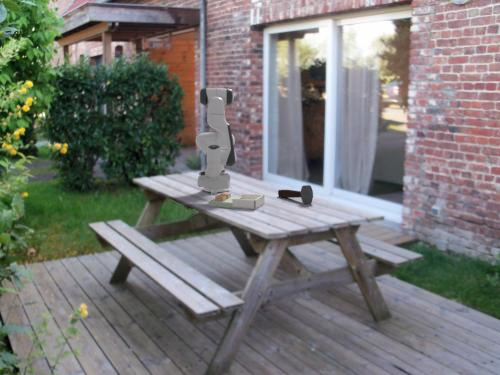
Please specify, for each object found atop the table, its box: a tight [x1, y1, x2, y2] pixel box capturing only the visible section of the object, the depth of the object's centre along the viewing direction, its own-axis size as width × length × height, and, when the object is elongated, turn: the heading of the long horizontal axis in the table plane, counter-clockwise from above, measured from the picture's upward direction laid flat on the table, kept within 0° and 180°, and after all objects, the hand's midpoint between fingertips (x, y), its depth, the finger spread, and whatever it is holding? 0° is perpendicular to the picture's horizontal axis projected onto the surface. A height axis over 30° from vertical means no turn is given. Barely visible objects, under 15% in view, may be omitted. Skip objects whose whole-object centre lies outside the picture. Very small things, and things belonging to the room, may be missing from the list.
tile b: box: [214, 194, 226, 201], centre depth 344 cm, size 5×5×2 cm
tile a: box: [219, 192, 232, 199], centre depth 352 cm, size 5×5×2 cm
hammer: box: [277, 184, 314, 205], centre depth 362 cm, size 5×11×30 cm
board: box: [209, 196, 242, 209], centre depth 348 cm, size 18×14×3 cm
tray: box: [231, 193, 265, 210], centre depth 344 cm, size 18×14×5 cm
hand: (213, 195), depth 354 cm, fingers closed
